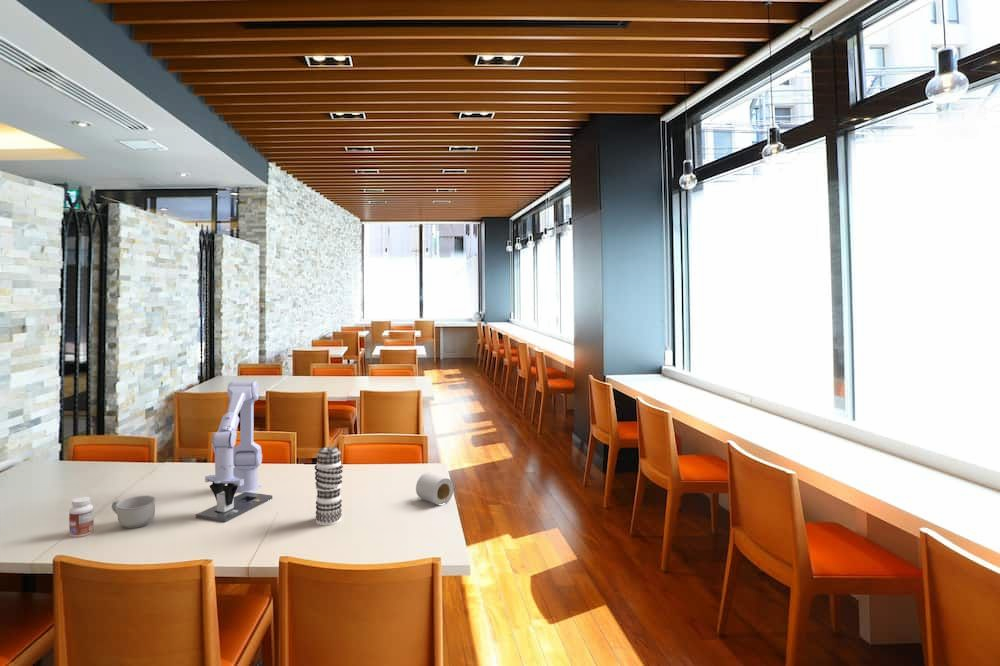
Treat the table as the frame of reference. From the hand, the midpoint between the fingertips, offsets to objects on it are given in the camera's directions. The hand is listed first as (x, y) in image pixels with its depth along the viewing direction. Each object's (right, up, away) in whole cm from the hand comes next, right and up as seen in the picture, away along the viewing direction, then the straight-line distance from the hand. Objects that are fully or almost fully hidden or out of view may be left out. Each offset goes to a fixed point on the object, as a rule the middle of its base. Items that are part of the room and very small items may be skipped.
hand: (224, 503), depth 198 cm
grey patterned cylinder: (+37, -5, -3) cm, 38 cm away
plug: (0, -2, 0) cm, 2 cm away
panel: (+1, -3, +6) cm, 7 cm away
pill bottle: (-36, -4, -18) cm, 41 cm away
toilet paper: (+71, -5, +17) cm, 73 cm away
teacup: (-26, -4, -10) cm, 28 cm away
